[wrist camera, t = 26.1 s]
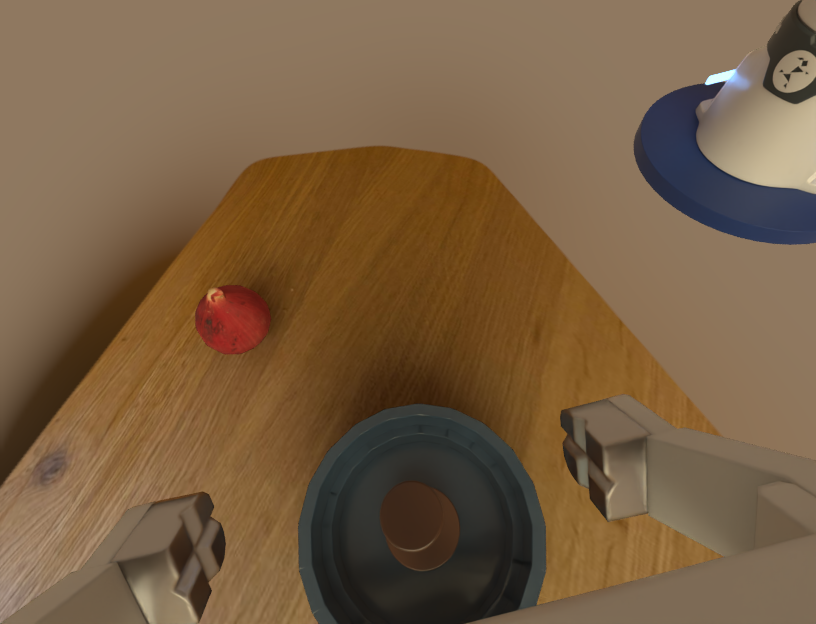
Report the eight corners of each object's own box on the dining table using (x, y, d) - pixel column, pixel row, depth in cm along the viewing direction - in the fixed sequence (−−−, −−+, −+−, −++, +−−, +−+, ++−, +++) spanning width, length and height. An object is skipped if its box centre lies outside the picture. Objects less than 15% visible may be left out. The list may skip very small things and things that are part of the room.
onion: (258, 377, 35) (215, 337, 28) (207, 353, 37) (155, 310, 30) (293, 323, 38) (262, 275, 31) (244, 303, 39) (204, 253, 32)
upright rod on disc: (436, 476, 30) (442, 407, 14) (471, 545, 28) (525, 556, 12) (376, 510, 29) (308, 477, 13) (407, 583, 27) (371, 654, 11)
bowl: (458, 394, 34) (463, 368, 28) (568, 580, 27) (601, 591, 22) (295, 480, 31) (267, 468, 26) (372, 710, 24) (356, 758, 19)
